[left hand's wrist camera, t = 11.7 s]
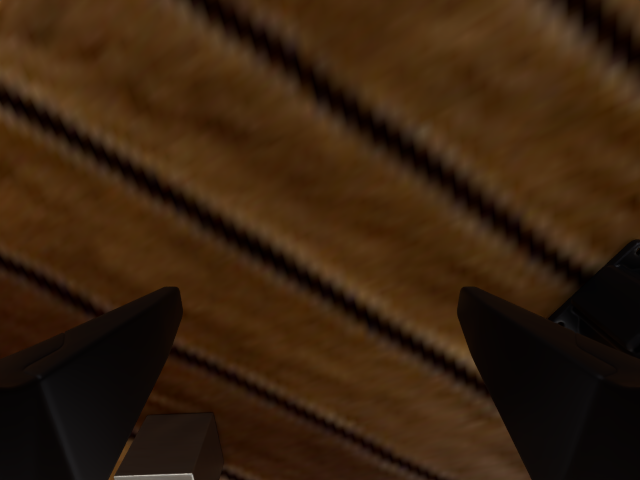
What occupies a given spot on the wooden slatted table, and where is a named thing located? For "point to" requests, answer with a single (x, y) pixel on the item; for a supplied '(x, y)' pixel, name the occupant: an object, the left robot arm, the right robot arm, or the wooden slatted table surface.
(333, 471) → the wooden slatted table surface
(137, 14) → the wooden slatted table surface
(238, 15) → the wooden slatted table surface
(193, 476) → the block
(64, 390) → the left robot arm
